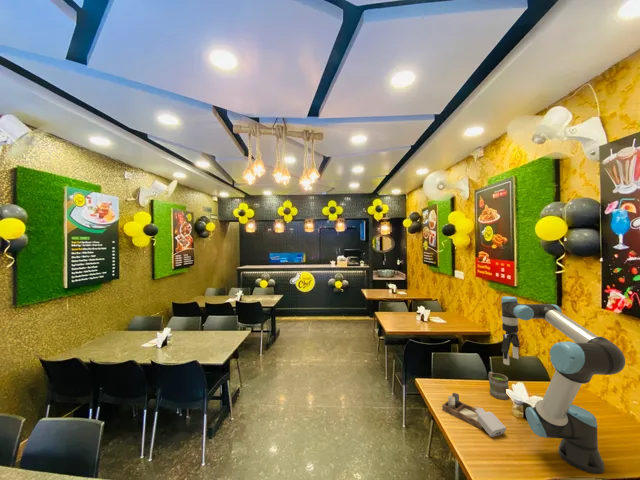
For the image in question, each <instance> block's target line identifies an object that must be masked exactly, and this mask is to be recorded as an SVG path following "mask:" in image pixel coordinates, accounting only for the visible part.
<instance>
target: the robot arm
mask: <svg viewBox="0 0 640 480" xmlns="http://www.w3.org/2000/svg"><path fill="white" fill-rule="evenodd" d="M500 304H501V316H500V317H501V321H502V324H501V327H502V328H501V329H502V331H504V332H505V334H504V333H503V334H502V337H503V338H502V342H501V343H502V344H501V349H500V352H501V353H502V358H503V359H502V360H503V361H502V364H504V365H506V366H510V353H509V351H510V347H512V348H511V349H512V358H513V359H517V360H519V348H521V344H520V343H521V342H520V340H519V335H518V332H519V319H520V320H521V321H522V320H523V321H529V320H530V321H531V320H532V319H534V320H535V319H536V320H537V319H539V320H542V319H543V320H544V321H546V322H547V323H548V324H550V325H551V326H552V327H554V328H555V329H557V330H559V332H561V333H562V334H563V335H565V336H566V337H568V338H569V339H570V340H572V341H559V342H556V343H554V344H553V345H552V347H550V351H549V356H550V357H549V358H550V359H549V360H550V362H551V365H552V366H553V368H554V370H555V372H554V374H553V376H552V378H551V380H550V382H549V384H548V387H547V388H546V391H545V393H544V396H543V398H542V399H540V400H538V401H536V403H535V405H534V407H532V406H528V407H526V409H525V417H526V420H527V423H528V425H529V428H530V429H531V431H532V433H533V434H535V435H536V436H537V437H541V438H546V439H547V438H548V439H549V438H550V439H561V440H560V442H559V444H558V454H559V456H560V458H561V459H562V460H563V461H564V462H566V463H567V464H569V465H570V466H572V467H573V468H575V469H577V470H579V471H582V472H585V473H588V474H593V475H595V474H596V475H599V474H602V473H603V474H604V472H605V463H604V461H603V458H602V456H601V454H600V451H599V447H598V446H599V445H598V443H599V442H598V427H599V425H598V422H597V418H596V416H595V415H594V414H593V413H591V412H590V411H589V410H587V409H585V408H583V407H581V406H578V405H575V404H573V402H574V400H575V398H576V396H577V395H578V392H579V390H580V389H581V386H582V385H583V384H584V385H587V384H588V383H589V382H591V380H592V378H593V376H594V375H595V376H596V375H599V376H603V375H608V376H611V375H617V374H618V373H620V372H622V371H623V370H624V369H625V366H626V358H625V357H626V356H625V354H624V353H623V351H622V350H621V349H620V348H619V347H618V345H616V344H615V343H613V342H612V341H611V340H609V339H608V338H606V337H603V336H598V335H596V334H595V333H593V332H592V331H591V330H589V329H587V328H586V327H584V326H583V325H581V324H579V323H577V322H576V321H575V320H573V319H572V318H570V317H569V316H567V315H566V314H563V312H562V308H560V306H558V305H557V304H551V303H547V304H543V303H540V304H539V303H537V304H536V303H535V304H534V303H519V302H518V298H517V297H515V296H508V295H506V296H502V297H501V302H500ZM511 344H512V346H511Z"/></svg>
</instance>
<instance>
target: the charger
mask: <svg viewBox="0 0 640 480" xmlns="http://www.w3.org/2000/svg"><path fill="white" fill-rule="evenodd" d="M474 408H476V410H475V412H476V413H477V414H478V418H477V421H478V422H479V423H480V424H481V426H482V427H483V429H484V430H485V431H486V433H487V434H488V435H489V436H490V438H493V437H497V436H501V435H503V434H505V432H506V430H507V427H506V426H505V425H504V423H502V422H501V420H500V419H499V418H498V417H497V415H495V414H494V412H493V411H492V412H491V411H485V409H484V408H482V407H479V406H478V405H476V406H474Z"/></svg>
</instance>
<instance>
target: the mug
mask: <svg viewBox="0 0 640 480" xmlns="http://www.w3.org/2000/svg"><path fill="white" fill-rule="evenodd" d="M488 383H489V394H490V396H492V397H493V398H496V399H497V400H498V399H499V400H508V399H510V396H509V397H508V395H507V394H506V389H509V390H510V387H509V377H508V376H507V375H505V374H502V373H497V372H493V371H488Z"/></svg>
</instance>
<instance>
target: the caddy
mask: <svg viewBox="0 0 640 480" xmlns="http://www.w3.org/2000/svg"><path fill="white" fill-rule="evenodd" d="M451 394H452V395H448V396H447V397H448V398H447V401H446V402H445V403H443V404H442V406H441V408H442V409H441V410H442V411H443V412H446V413H447V414H450V415H451V416H453V417H456V418H457V419H460V420H461V421H464V422H465V423H467V424H469V425H472V426H473V427H476V428H477V429H479V430H483V429H484V428H483V427H482V426H481V424H480V423H479V422H478V421H477V418H478V414H477V413H476V412H475V410H476V408H477V407H476V408H475V406H471V405H469V404H466V403H465V402H462V401H460V395H459V393H457V392H453V393H451Z"/></svg>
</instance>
